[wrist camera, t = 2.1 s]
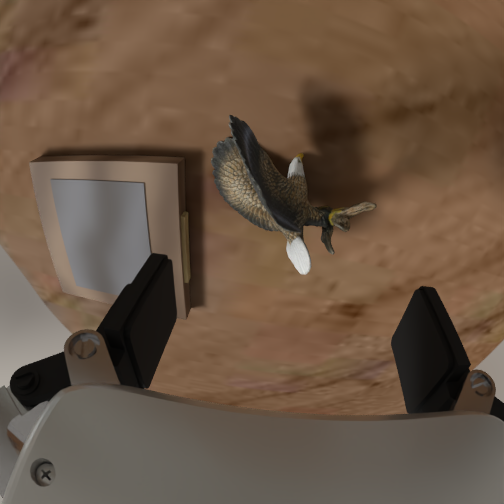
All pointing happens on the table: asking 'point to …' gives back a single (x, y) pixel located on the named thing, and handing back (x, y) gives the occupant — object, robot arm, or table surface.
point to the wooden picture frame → (113, 220)
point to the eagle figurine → (274, 194)
